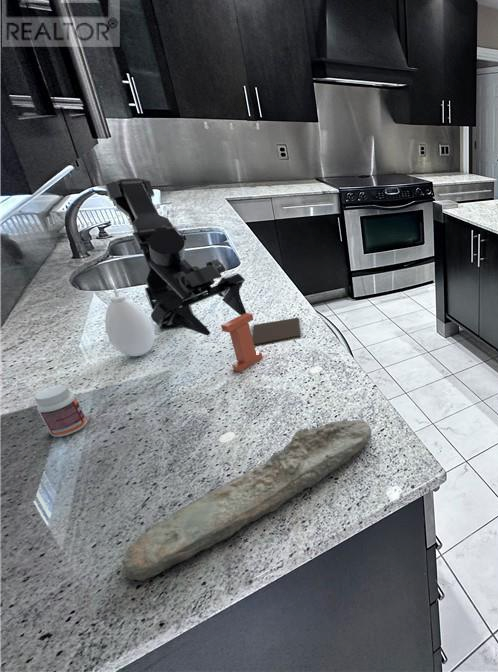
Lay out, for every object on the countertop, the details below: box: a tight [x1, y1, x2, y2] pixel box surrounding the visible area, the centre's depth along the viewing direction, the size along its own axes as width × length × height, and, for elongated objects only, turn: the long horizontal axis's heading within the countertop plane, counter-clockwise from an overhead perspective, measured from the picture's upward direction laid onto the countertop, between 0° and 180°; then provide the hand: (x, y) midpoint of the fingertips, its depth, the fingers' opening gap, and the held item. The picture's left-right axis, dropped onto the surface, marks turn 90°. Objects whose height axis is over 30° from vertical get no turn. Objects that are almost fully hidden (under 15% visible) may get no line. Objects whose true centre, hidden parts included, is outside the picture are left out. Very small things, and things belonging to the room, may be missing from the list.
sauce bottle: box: [104, 285, 156, 357], centre depth 94 cm, size 8×8×18 cm
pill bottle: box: [34, 384, 88, 438], centre depth 73 cm, size 5×5×8 cm
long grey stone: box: [121, 419, 372, 582], centre depth 64 cm, size 35×5×10 cm
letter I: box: [220, 312, 264, 373], centre depth 93 cm, size 2×6×12 cm, turn 163°
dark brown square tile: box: [252, 317, 302, 347], centre depth 109 cm, size 11×11×1 cm
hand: (228, 324), depth 92 cm, fingers open, 9 cm apart
